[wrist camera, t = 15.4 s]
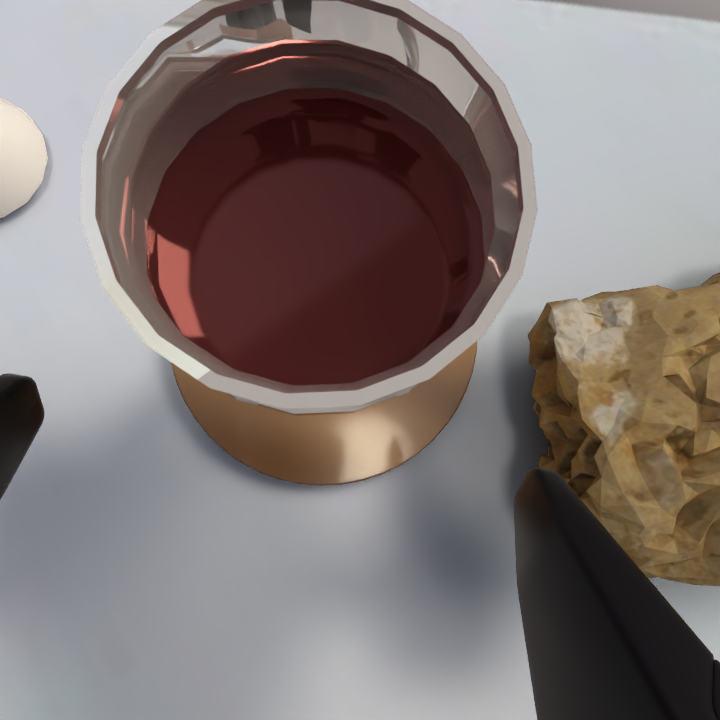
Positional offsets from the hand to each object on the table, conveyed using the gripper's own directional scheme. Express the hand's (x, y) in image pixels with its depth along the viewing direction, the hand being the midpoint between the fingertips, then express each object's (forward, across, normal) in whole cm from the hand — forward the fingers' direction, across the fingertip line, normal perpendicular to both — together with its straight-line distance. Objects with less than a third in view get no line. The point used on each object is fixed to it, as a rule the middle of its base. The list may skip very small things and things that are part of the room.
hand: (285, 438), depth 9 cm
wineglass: (+10, 0, +4) cm, 11 cm away
